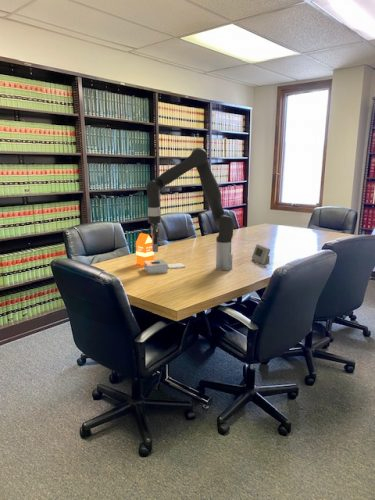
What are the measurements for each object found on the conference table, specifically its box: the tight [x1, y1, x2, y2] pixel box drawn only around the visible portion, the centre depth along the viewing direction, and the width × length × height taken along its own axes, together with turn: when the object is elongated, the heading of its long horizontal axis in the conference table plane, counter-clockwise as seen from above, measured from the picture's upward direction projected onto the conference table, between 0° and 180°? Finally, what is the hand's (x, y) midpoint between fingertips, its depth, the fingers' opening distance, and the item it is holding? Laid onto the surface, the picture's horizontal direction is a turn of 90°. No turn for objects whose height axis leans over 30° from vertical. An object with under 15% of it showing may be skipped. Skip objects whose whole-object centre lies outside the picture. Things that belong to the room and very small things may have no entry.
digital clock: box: [251, 243, 271, 265], centre depth 243 cm, size 16×9×11 cm, turn 6°
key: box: [150, 232, 159, 253], centre depth 221 cm, size 4×4×11 cm
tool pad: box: [167, 262, 186, 270], centre depth 234 cm, size 10×8×1 cm
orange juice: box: [135, 232, 155, 266], centre depth 239 cm, size 8×9×20 cm
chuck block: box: [143, 259, 169, 275], centre depth 225 cm, size 12×12×5 cm
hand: (155, 243), depth 221 cm, fingers closed on key, 3 cm apart
